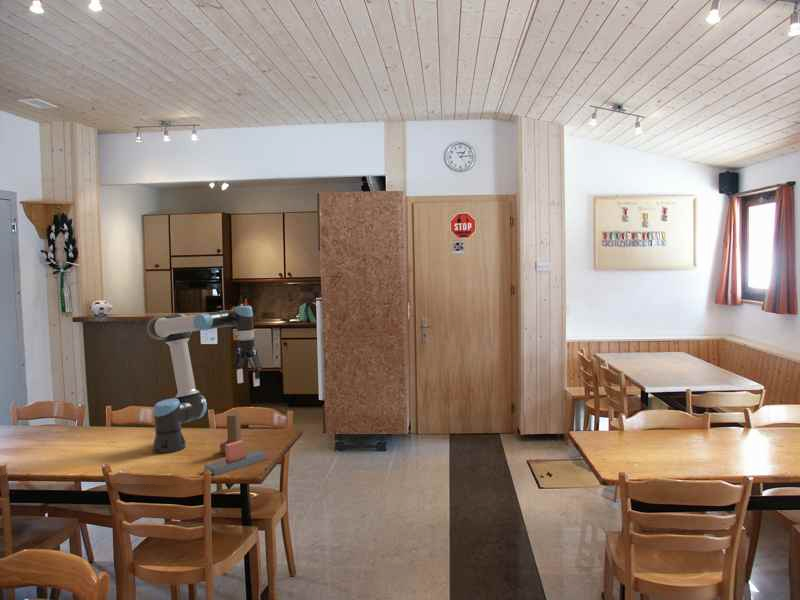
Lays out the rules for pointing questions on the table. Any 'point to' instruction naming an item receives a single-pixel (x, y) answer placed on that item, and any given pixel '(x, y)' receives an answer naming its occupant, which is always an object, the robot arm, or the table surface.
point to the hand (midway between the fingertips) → (248, 384)
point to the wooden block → (232, 430)
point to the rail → (235, 462)
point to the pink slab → (235, 450)
